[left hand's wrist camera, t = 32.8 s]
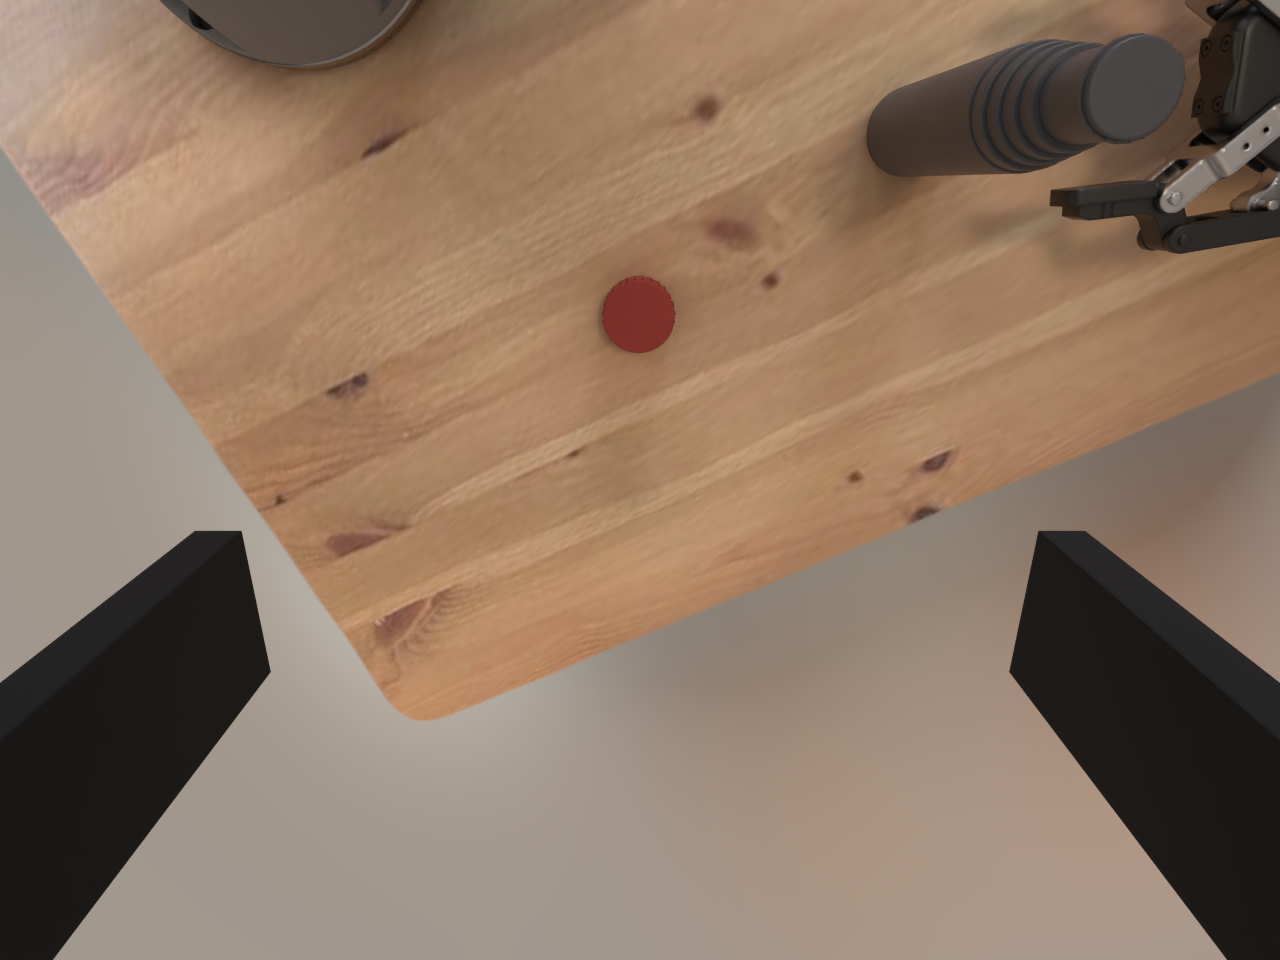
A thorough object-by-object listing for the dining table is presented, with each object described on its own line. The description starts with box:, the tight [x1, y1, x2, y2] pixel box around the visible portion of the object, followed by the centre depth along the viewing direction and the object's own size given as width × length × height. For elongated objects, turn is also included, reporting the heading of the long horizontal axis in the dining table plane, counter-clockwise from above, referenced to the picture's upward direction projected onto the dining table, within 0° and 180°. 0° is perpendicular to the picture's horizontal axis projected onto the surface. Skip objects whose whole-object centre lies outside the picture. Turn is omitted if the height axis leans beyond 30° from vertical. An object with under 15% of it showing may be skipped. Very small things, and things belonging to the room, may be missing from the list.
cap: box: [602, 276, 675, 353], centre depth 42 cm, size 4×4×2 cm
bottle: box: [867, 33, 1185, 176], centre depth 31 cm, size 4×4×20 cm
